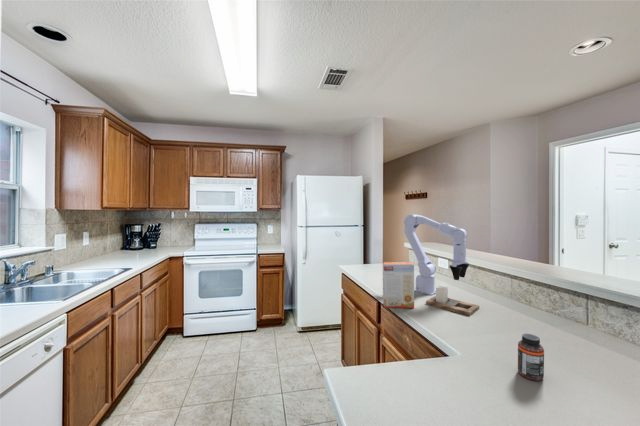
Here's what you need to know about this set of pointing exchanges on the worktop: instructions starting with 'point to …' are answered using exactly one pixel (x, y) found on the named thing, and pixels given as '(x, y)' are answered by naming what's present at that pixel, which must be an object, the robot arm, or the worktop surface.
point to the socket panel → (454, 306)
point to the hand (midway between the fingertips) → (459, 278)
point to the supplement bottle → (531, 357)
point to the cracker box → (398, 284)
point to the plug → (442, 294)
